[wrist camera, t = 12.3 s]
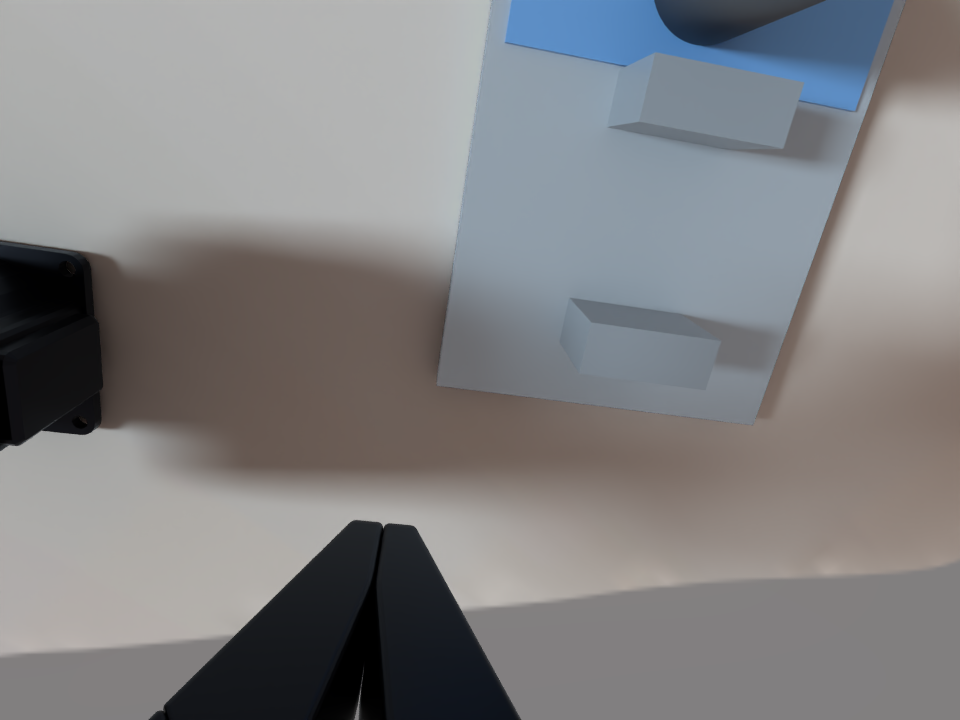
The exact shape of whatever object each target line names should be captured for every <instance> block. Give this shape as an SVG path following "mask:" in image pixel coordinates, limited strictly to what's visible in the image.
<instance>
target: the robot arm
mask: <svg viewBox="0 0 960 720" xmlns="http://www.w3.org/2000/svg"><path fill="white" fill-rule="evenodd" d="M67 262H70V263H71V264H72V265H73V266H74V267H75V270H76V271H75V274H72V273H70V272H69V271H68V269H67V267H66V264H67ZM102 387H103V379H102V364H101V349H100V334H99V323H98V321H97V320H96V318H95V317H94V307H93V292H92V278H91V268H90V264H89V262H88V261H87V259H86V258H85V257H84V256H82V255H81V254H79V253H76V252H72V251H65V250H58V249H51V248H44V247H37V246H30V245H23V244H16V243H9V242H2V241H0V451H1V450H3V449H4V448H6V447H7V446H9V445H12V446H19V445H21V444H23V443H24V442H26V441H27V440H29V439H30V438H32V437H33V436H35V435H36V434H37V433H39V432H40V431H50V432H59V433H69V434H78V435H86V434H89V433H91V432H92V431H93V430H95V429H96V428H97V427H98V426H99V425H100V424H101V407H100V393H99V390H101V389H102ZM79 416H82V417H84V418H85V419H86V420H87V423H88V424H86V423H83V422H82V421H81V420H80V418H79ZM363 670H364V671H363ZM362 677H363V679H362ZM361 684H362V687H361ZM360 689H361V696H360V704H359V720H521V719H520V717H519V715H518V713H517V711H516V709H515V707H514V706H513V704H512V702H511V700H510V698H509V697H508V695H507V693H506V691H505V689H504V687H503V686H502V684H501V682H500V680H499V678H498V677H497V675H496V673H495V671H494V669H493V667H492V666H491V664H490V662H489V660H488V659H487V656H486V655H485V653H484V651H483V649H482V647H481V646H480V644H479V642H478V640H477V638H476V636H475V635H474V633H473V631H472V629H471V627H470V626H469V624H468V622H467V621H466V618H465V616H464V615H463V613H462V611H461V609H460V607H459V605H458V604H457V602H456V600H455V598H454V596H453V595H452V593H451V591H450V589H449V587H448V585H447V584H446V582H445V580H444V578H443V576H442V574H441V573H440V571H439V569H438V567H437V565H436V564H435V562H434V560H433V558H432V556H431V554H430V553H429V551H428V549H427V547H426V545H425V543H424V542H423V540H422V538H421V536H420V534H419V533H418V531H417V529H416V528H415V527H414V526H411V525H402V524H391V523H389V524H386V525H385V526H384V529H383V526H382V524H381V523H379V522H371V521H361V520H354V521H352V522H350V523H349V524H348V525H347V526H346V527H345V528H344V529H343V530H342V531H341V532H340V533H339V534H338V535H337V536H336V537H335V538H334V539H333V540H332V541H331V542H330V543H329V544H328V545H327V546H326V547H325V548H324V549H323V550H322V551H321V552H320V553H319V554H317V555H316V556H315V557H314V558H313V559H312V560H311V561H310V562H309V563H308V564H307V565H306V566H305V567H304V568H303V569H302V570H301V571H300V572H299V573H298V574H297V575H296V576H295V577H294V578H293V579H292V580H291V581H290V582H289V583H288V584H287V585H286V586H285V587H284V588H283V589H282V590H281V591H280V592H279V593H278V594H277V595H276V596H275V597H274V598H273V599H272V600H271V601H270V602H269V603H268V604H267V605H266V606H264V607H263V608H262V609H261V610H260V611H259V612H258V613H257V614H256V615H255V616H254V617H253V618H252V619H251V620H250V621H249V622H248V623H247V624H246V625H245V626H244V627H243V628H242V629H241V630H240V631H239V632H238V633H237V634H236V635H235V636H234V637H233V638H232V639H231V640H230V641H229V642H228V643H227V644H226V645H225V646H224V647H223V648H222V649H221V650H220V651H219V652H218V653H217V654H216V655H215V656H214V657H213V658H212V659H210V661H208V662H207V663H206V664H205V666H203V667H202V668H201V669H200V670H199V671H198V672H197V673H196V674H195V675H194V676H193V677H192V678H191V679H190V680H189V681H188V682H187V683H186V684H185V685H184V686H183V687H182V688H181V689H180V690H179V691H178V692H177V693H176V694H175V695H174V696H173V697H172V698H171V699H170V700H169V701H168V702H167V703H166V704H165V705H164V708H163V711H157V712H156V713H155V714H154V715H153V716H152V717H151V718H150V719H149V720H354V718H355V714H356V710H357V706H358V701H359V695H360Z"/></svg>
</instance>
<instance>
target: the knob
mask: <svg viewBox="0 0 960 720" xmlns="http://www.w3.org/2000/svg"><path fill="white" fill-rule="evenodd" d="M823 1H826V0H654V2H655V5H656V9H657V11H658V14H659V16H660V18H661V20H662V21H663V23H664V25H665V26H666V27H667V28H668V29H669V31H670V32H672V33H673V34H674V35H675V36H676V37H678V38H679V39H681V40H683V41H685V42H687V43H690V44H694V45H701V46H708V45H715V44H719V43H722V42H725V41H727V40H730V39H732V38H735V37H737V36H739V35H742V34H744V33H747V32H749V31H752V30H754V29H757V28H759V27H762V26H764V25H767V24H769V23H772V22H774V21H776V20H779V19H781V18H784V17H786V16H789V15H791V14H794V13H796V12H799V11H801V10H804V9H806V8H808V7H811V6H813V5H816V4H818V3H821V2H823Z"/></svg>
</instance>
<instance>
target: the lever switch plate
mask: <svg viewBox="0 0 960 720" xmlns="http://www.w3.org/2000/svg"><path fill="white" fill-rule="evenodd" d="M905 2H906V0H826V1H823V2H821V3H818V4H816V5H813V6H811V7H808V8H806V9H804V10H801V11H799V12H796V13H794V14H791V15H789V16H786V17H784V18H781V19H779V20H776V21H774V22H772V23H769V24H767V25H764V26H762V27H759V28H757V29H754V30H752V31H749V32H747V33H744V34H742V35H739V36H737V37H735V38H732V39H730V40H727V41H725V42H722V43H719V44H715V45H708V46H701V45H694V44H690V43H687V42H685V41H683V40H681V39H679V38H678V37H676V36H675V35H674V34H673V33H672V32H670V31H669V29H668V28H667V27H666V26H665V25H664V23H663V21H662V20H661V18H660V16H659V14H658V11H657V9H656V5H655V2H654V0H492V3H491V9H490V16H489V23H488V30H487V37H486V43H485V50H484V57H483V64H482V71H481V78H480V84H479V91H478V98H477V105H476V112H475V118H474V125H473V132H472V139H471V146H470V152H469V159H468V166H467V173H466V180H465V187H464V193H463V200H462V207H461V214H460V221H459V227H458V234H457V241H456V248H455V255H454V262H453V268H452V275H451V282H450V289H449V296H448V302H447V309H446V316H445V323H444V330H443V337H442V343H441V350H440V357H439V364H438V371H437V386H443V387H451V388H459V389H467V390H475V391H483V392H491V393H499V394H507V395H515V396H523V397H531V398H539V399H547V400H555V401H563V402H571V403H578V404H586V405H594V406H602V407H610V408H618V409H626V410H634V411H642V412H650V413H658V414H666V415H674V416H682V417H690V418H698V419H706V420H714V421H722V422H730V423H738V424H746V425H753V424H754V421H755V419H756V416H757V413H758V410H759V408H760V405H761V402H762V399H763V396H764V394H765V391H766V388H767V385H768V383H769V380H770V377H771V374H772V372H773V369H774V366H775V363H776V360H777V358H778V355H779V352H780V349H781V347H782V344H783V341H784V338H785V335H786V333H787V330H788V327H789V324H790V322H791V319H792V316H793V313H794V310H795V308H796V305H797V302H798V299H799V297H800V294H801V291H802V288H803V285H804V283H805V280H806V277H807V274H808V272H809V269H810V266H811V263H812V260H813V258H814V255H815V252H816V249H817V247H818V244H819V241H820V238H821V235H822V233H823V230H824V227H825V224H826V222H827V219H828V216H829V213H830V210H831V208H832V205H833V202H834V199H835V197H836V194H837V191H838V188H839V185H840V183H841V180H842V177H843V174H844V172H845V169H846V166H847V163H848V161H849V158H850V155H851V152H852V149H853V147H854V144H855V141H856V138H857V136H858V133H859V130H860V127H861V124H862V122H863V119H864V116H865V113H866V111H867V108H868V105H869V102H870V99H871V97H872V94H873V91H874V88H875V86H876V83H877V80H878V77H879V74H880V72H881V69H882V66H883V63H884V61H885V58H886V55H887V52H888V49H889V47H890V44H891V41H892V38H893V36H894V33H895V30H896V27H897V24H898V22H899V19H900V16H901V13H902V11H903V8H904V5H905Z"/></svg>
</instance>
